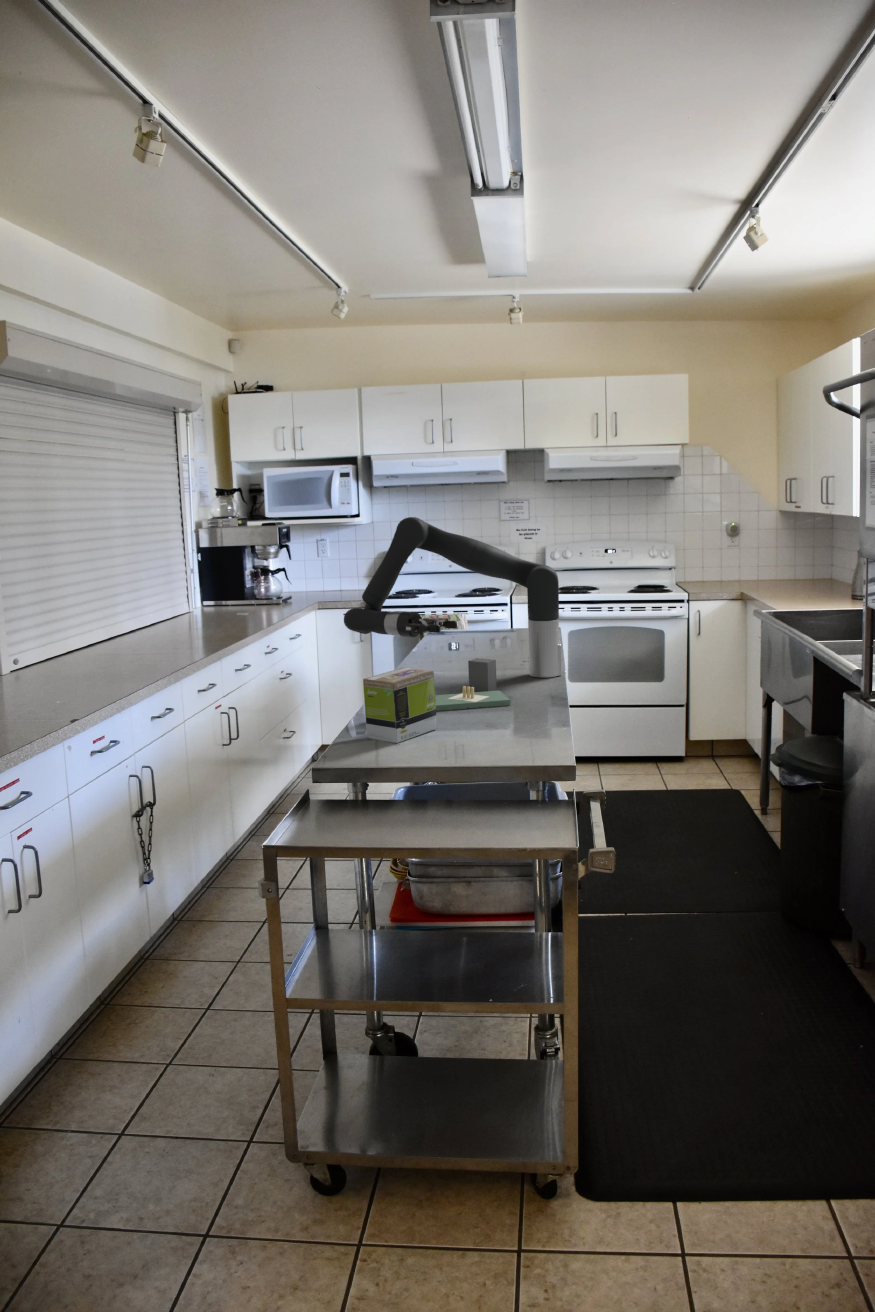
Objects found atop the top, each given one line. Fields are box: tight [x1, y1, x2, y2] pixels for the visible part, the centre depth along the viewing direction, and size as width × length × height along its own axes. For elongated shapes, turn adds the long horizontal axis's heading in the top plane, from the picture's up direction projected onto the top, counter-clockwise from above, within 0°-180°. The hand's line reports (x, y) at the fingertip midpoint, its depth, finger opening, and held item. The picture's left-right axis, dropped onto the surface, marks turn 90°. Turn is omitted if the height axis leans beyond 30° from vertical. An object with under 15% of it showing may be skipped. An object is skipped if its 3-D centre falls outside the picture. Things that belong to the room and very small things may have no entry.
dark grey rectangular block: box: [467, 657, 498, 693], centre depth 267 cm, size 6×4×9 cm
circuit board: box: [435, 685, 511, 712], centre depth 253 cm, size 20×12×4 cm, turn 100°
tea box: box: [362, 667, 438, 744], centre depth 224 cm, size 15×10×15 cm, turn 141°
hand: (448, 626), depth 271 cm, fingers open, 8 cm apart
